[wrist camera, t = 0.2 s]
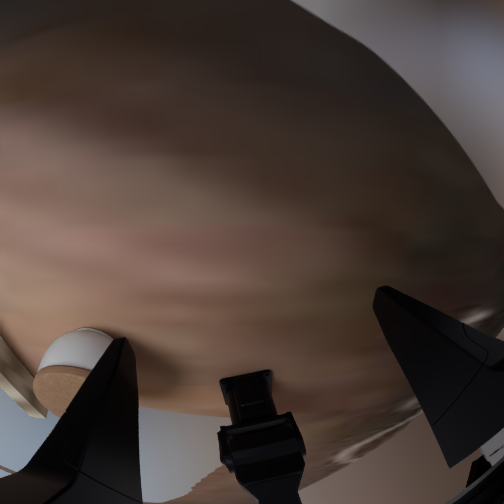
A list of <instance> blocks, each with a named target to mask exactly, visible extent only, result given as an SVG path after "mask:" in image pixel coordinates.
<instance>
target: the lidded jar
mask: <svg viewBox="0 0 504 504" xmlns="http://www.w3.org/2000/svg"><path fill="white" fill-rule="evenodd" d="M112 340H113V338H112V337H111V336H109V335H108V334H106V333H104V332H102V331H100V330H97V329H93V328H79V329H76V330H74V331H70V332H67V333H64V334H63V335H61V336H59V337H58V338H56V339H55V340H54V341H53V342H52V343H51V344H50V346H49V347H48V348H47V350H46V352H45V354H44V356H43V358H42V360H41V362H40V365H39V368H38V371H37V373H36V375H35V378H34V381H33V391H34V393H35V396H36V398H37V399H38V400H39V402H40V403H41V404H42V405H43V406H44V407H45V408H47V409H48V410H49V411H50V412H52V413H53V414H55V415H57V416H58V417H60V418H61V416H62V415H63V413H64V412H65V410H66V409H67V407H68V405H69V404H70V402H71V401H72V399H73V398H74V396H75V395H76V393H77V392H78V390H79V388H80V387H81V385H82V384H83V382H84V381H85V379H86V378H87V376H88V375H89V374H90V372H91V371H92V369H93V368H94V366H95V365H96V363H97V362H98V360H99V359H100V358H101V356H102V355H103V353H104V352H105V350H106V349H107V348H108V346H109V345H110V343H111V342H112ZM138 414H139V413H138Z"/></svg>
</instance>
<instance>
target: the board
mask: <svg viewBox="0 0 504 504" xmlns="http://www.w3.org/2000/svg"><path fill="white" fill-rule="evenodd" d="M33 381H34V378H33V376H32V375H31V374H30V373H29V372H28V371H27V369H26V368H25V367H24V366H23V364H22V363H21V362H20V361H19V359H18V358H17V357H16V356H15V354H14V353H13V352H12V350H11V349H10V348H9V346H8V345H7V344H6V342H5V341H4V340H3V338H2V337H1V335H0V387H1V388H2V389H3V390H4V391H5V392H6V393H7V394H8V395H9V396H10V397H11V398H12V399H13V400H14V401H15V402H16V403H17V404H18V405H19V406H20V407H21V408H22V409H23V410H24V411H25V412H26V413H27V414H29V415H30V416H31V417H34V418H44V419H46V417H47V412H48V409H47V408H45V407H44V406H43V405H42V404H41V403H40V402H39V400H38V399H37V398H36V396H35V393H34V391H33Z"/></svg>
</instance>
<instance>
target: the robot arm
mask: <svg viewBox="0 0 504 504" xmlns="http://www.w3.org/2000/svg"><path fill="white" fill-rule="evenodd" d="M373 310H374V313H375V315H376V317H377V319H378V322H379V324H380V326H381V329H382V331H383V333H384V336H385V338H386V340H387V342H388V344H389V346H390V348H391V350H392V352H393V353H394V355H395V357H396V359H397V361H398V363H399V364H400V366H401V368H402V370H403V372H404V374H405V376H406V378H407V380H408V381H409V383H410V385H411V387H412V389H413V391H414V393H415V395H416V397H417V399H418V401H419V403H420V405H421V407H422V409H423V411H424V413H425V415H426V417H427V420H428V422H429V424H430V426H431V428H432V431H433V433H434V435H435V437H436V439H437V441H438V444H439V446H440V448H441V450H442V453H443V455H444V457H445V460H446V462H447V464H448V466H449V468H451V467H453V466H455V465H456V464H458V463H459V462H460V461H462V460H463V459H465V458H466V457H468V456H469V455H470V454H472V453H473V452H474V451H476V450H477V449H478V448H480V450H481V452H482V455H481V456H479V457H478V458H477V459H476V460H474V461H473V462H472V465H471V469H470V473H469V478H468V481H467V485H466V489H465V490H463V491H462V492H461V493H459V494H458V495H457V496H455V497H454V498H453V499H451V500H450V501H449V502H447V503H446V504H504V341H502V340H500V339H497V338H495V337H492V336H490V335H488V334H485V333H483V332H481V331H478V330H476V329H474V328H472V327H470V326H468V325H466V324H464V323H461V322H460V321H458V320H456V319H454V318H452V317H450V316H448V315H446V314H444V313H442V312H440V311H438V310H436V309H434V308H432V307H430V306H428V305H426V304H424V303H422V302H420V301H418V300H416V299H414V298H412V297H410V296H408V295H406V294H404V293H402V292H400V291H398V290H396V289H394V288H391V287H389V286H382V287H378V288H377V289H376V293H375V297H374V301H373ZM219 382H220V387H221V390H222V393H223V397H224V400H225V403H226V405H228V407H229V412H230V416H231V421H232V425H230V426H220V428H221V430H220V431H219V432H218V433H217V434H218V440H219V450H220V461H221V463H223V464H224V465H226V467H227V468H228V470H229V472H230V473H235V475H236V479H237V481H238V482H239V484H240V485H241V487H242V488H243V489H244V490H245V491H246V492H247V493H248V494H249V495H251V496H252V497H253V498H254V499H255V500H256V501H257V502H259V504H302V503H301V500H300V497H299V494H298V488H299V484H300V481H301V478H302V474H303V471H304V467H305V462H304V459H303V457H304V456H306V449H305V445H304V441H303V438H302V435H301V433H300V431H299V429H298V426H297V424H296V422H295V420H294V418H293V415H292V413H291V411H290V412H286V413H285V414H281V415H278V414H277V411H276V407H275V404H274V401H273V398H272V388H271V372H270V370H265V371H261V372H256V373H251V374H246V375H241V376H236V377H231V378H225V379H221V380H220V381H219ZM138 408H139V399H138V385H137V374H136V360H135V354H134V351H133V350H132V348H131V346H130V344H129V342H128V340H127V338H126V337H119V338H114V339H113V340H112V342H111V343H110V345H109V346H108V348H107V349H106V350H105V352H104V353H103V355H102V356H101V358H100V359H99V360H98V362H97V363H96V365H95V366H94V368H93V369H92V371H91V372H90V374H89V375H88V376H87V378H86V379H85V381H84V382H83V384H82V385H81V387H80V388H79V390H78V392H77V393H76V395H75V396H74V398H73V399H72V401H71V402H70V404H69V405H68V407H67V409H66V410H65V412H64V413H63V415H62V416H61V418H60V420H59V421H58V423H57V424H56V426H55V427H54V429H53V430H52V432H51V433H50V434H49V436H48V437H47V438H46V440H45V441H44V442H43V444H42V445H41V447H40V448H39V449H38V450H37V452H36V453H35V454H34V456H33V457H32V458H31V460H30V461H29V462H28V464H27V465H26V466H25V467H24V468H23V469H21V470H20V471H18V472H16V473H14V474H11V475H8V476H5V477H3V478H0V504H143V501H142V490H141V477H140V461H139V431H138V429H139V426H138V425H139V424H138Z"/></svg>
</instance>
